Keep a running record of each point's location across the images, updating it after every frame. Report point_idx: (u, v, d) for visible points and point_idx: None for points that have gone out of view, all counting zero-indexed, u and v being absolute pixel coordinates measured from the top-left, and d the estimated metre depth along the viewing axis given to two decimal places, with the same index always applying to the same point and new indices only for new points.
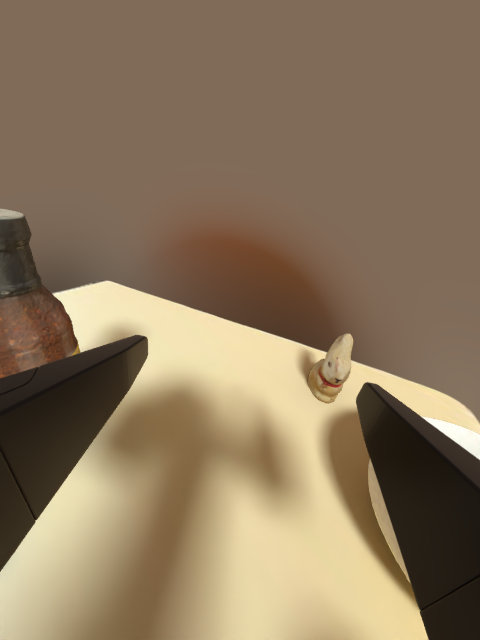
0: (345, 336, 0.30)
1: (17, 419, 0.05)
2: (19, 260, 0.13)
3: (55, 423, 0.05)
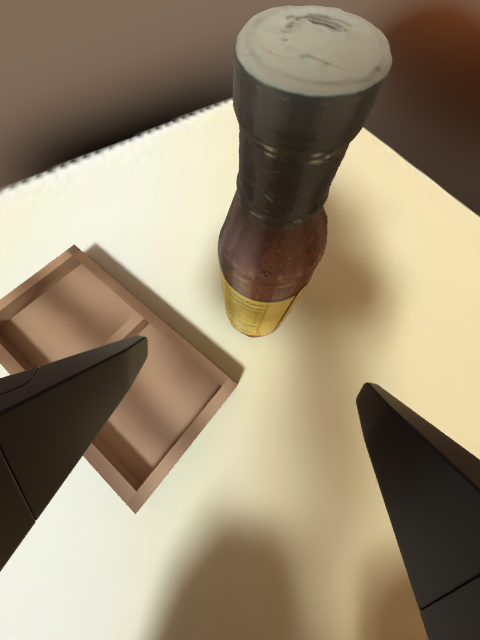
0: None
1: (17, 419, 0.05)
2: (336, 167, 0.07)
3: (55, 423, 0.05)
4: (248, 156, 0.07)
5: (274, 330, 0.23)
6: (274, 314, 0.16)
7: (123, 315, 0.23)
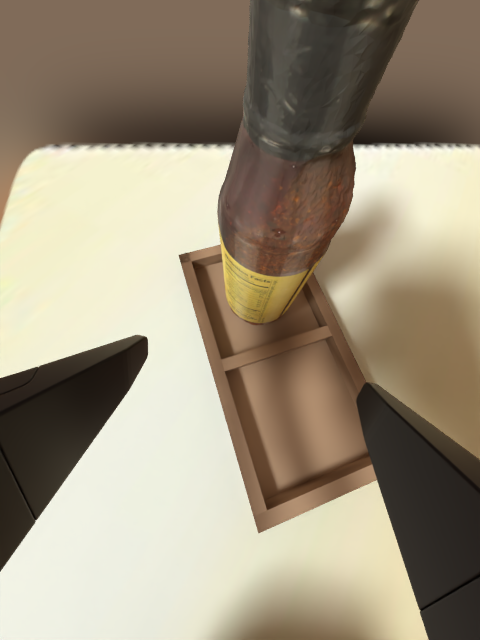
0: None
1: (17, 419, 0.05)
2: (389, 54, 0.05)
3: (55, 423, 0.05)
4: (263, 30, 0.05)
5: None
6: (281, 294, 0.14)
7: (303, 317, 0.22)
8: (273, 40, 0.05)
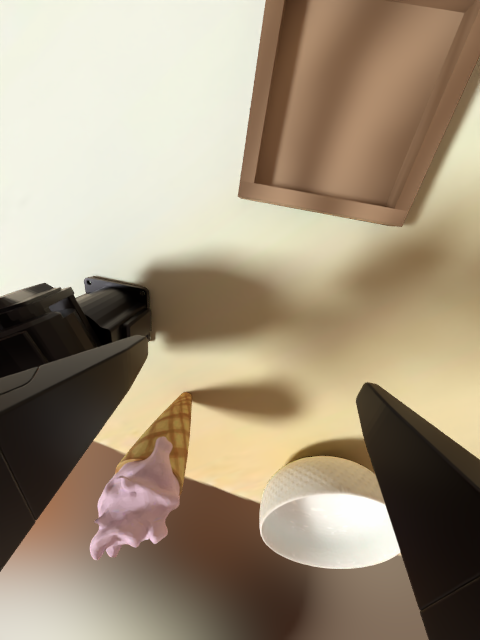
0: None
1: (17, 419, 0.05)
2: None
3: (55, 423, 0.05)
4: None
5: None
6: None
7: None
8: None
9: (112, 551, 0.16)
